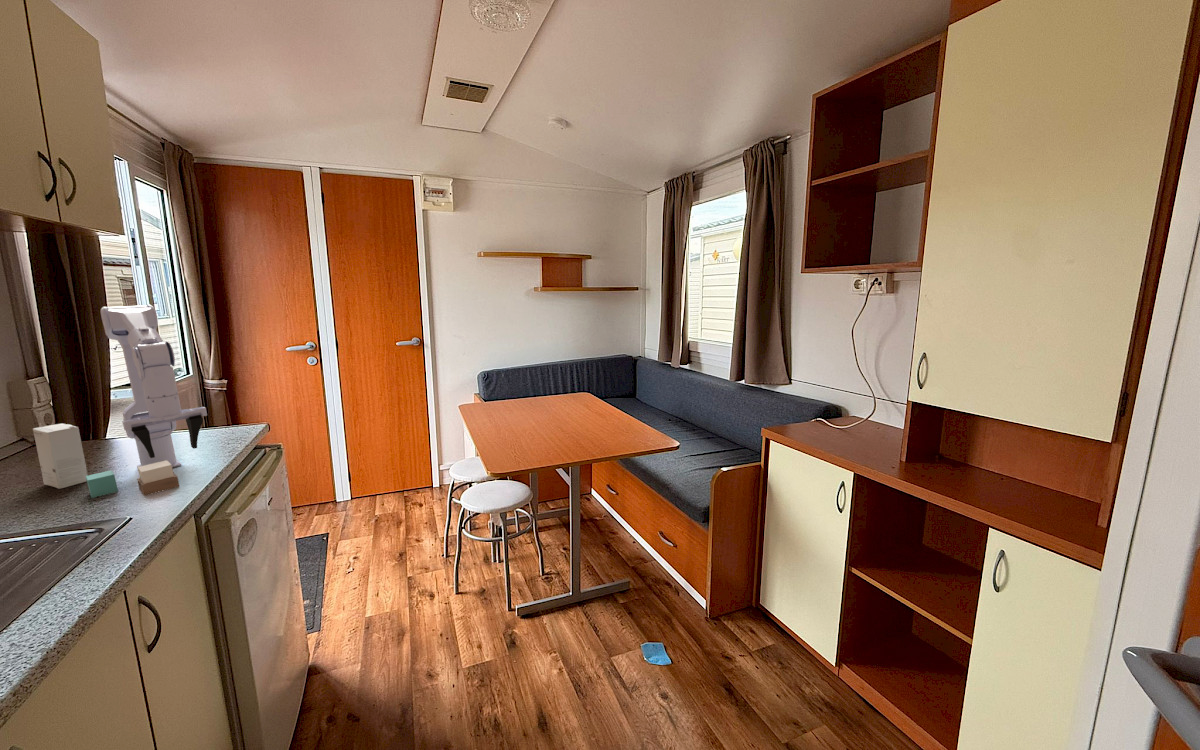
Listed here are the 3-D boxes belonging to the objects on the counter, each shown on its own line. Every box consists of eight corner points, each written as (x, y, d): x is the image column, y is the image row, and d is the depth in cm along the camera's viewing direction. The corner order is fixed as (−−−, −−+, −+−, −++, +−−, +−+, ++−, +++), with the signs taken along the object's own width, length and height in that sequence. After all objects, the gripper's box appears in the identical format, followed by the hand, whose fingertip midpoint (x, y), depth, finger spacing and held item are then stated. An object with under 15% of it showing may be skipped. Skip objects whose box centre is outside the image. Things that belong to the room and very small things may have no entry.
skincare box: (43, 485, 125) (28, 428, 122) (75, 476, 130) (62, 422, 128) (60, 489, 122) (45, 431, 119) (92, 480, 127) (78, 424, 124)
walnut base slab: (139, 490, 120) (137, 478, 120) (174, 481, 125) (171, 470, 125) (144, 497, 116) (141, 485, 116) (179, 487, 121) (177, 476, 121)
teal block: (89, 493, 119) (85, 476, 118) (115, 487, 122) (111, 470, 121) (92, 498, 116) (87, 480, 115) (118, 491, 119) (114, 474, 119)
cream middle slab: (139, 478, 120) (137, 467, 119) (169, 471, 124) (166, 460, 123) (144, 484, 116) (141, 472, 116) (174, 476, 121) (171, 464, 120)
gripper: (121, 404, 105) (134, 465, 107) (205, 391, 116) (216, 446, 118) (116, 400, 109) (129, 458, 112) (198, 388, 120) (208, 441, 123)
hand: (173, 452), depth 115 cm, fingers open, 7 cm apart
